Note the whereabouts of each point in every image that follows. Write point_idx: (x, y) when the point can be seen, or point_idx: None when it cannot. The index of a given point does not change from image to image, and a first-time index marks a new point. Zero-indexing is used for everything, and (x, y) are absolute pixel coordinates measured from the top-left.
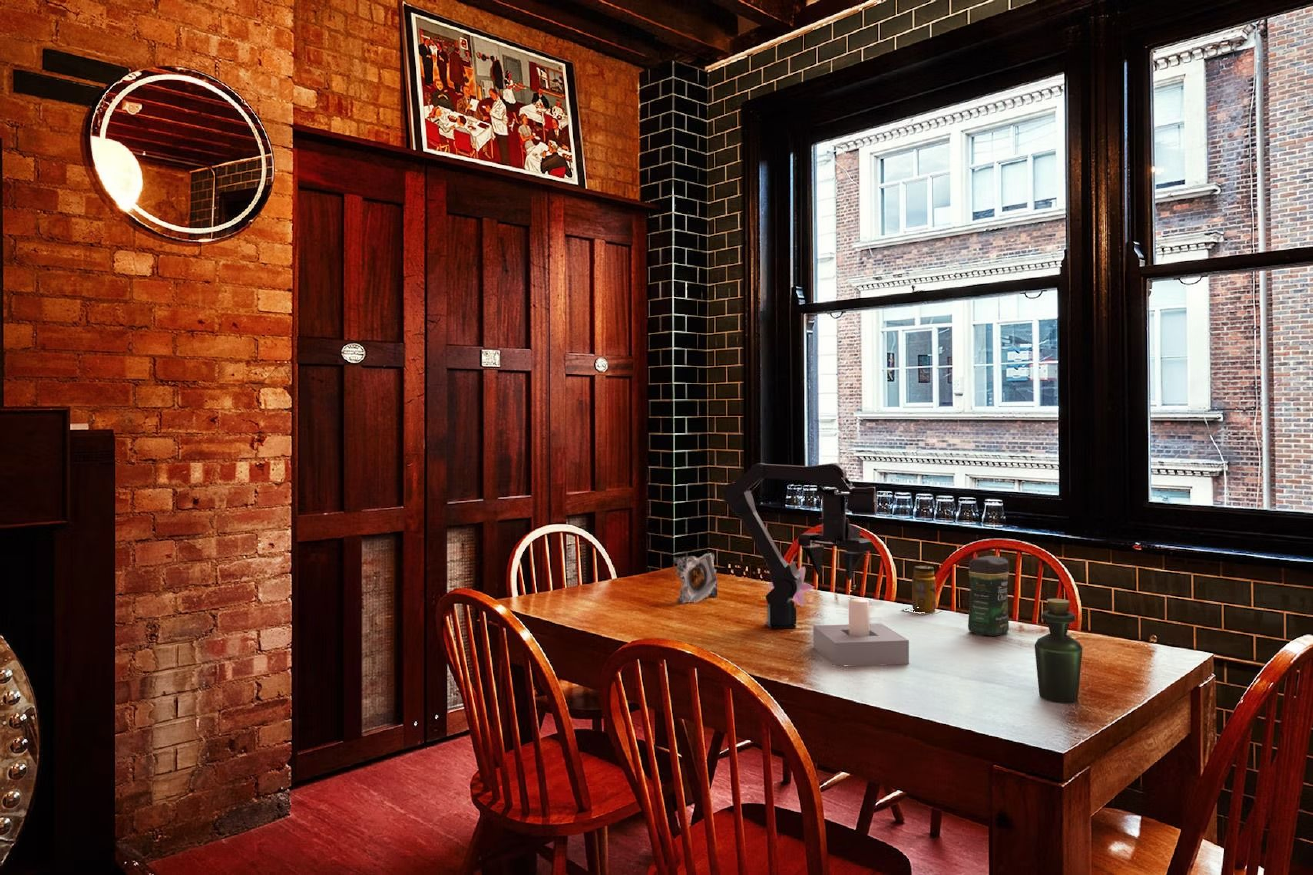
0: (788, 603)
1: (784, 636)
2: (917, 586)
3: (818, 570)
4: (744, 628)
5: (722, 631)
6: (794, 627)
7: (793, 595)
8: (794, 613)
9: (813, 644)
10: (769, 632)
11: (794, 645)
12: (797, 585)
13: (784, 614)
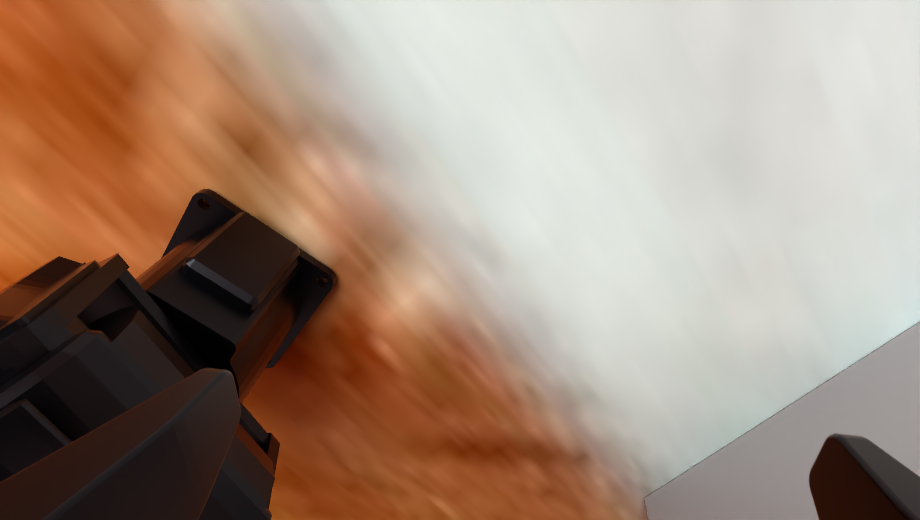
0: (240, 388)
1: (419, 425)
2: None
3: (205, 478)
4: None
5: None
6: (333, 284)
7: (268, 458)
8: (270, 292)
9: (647, 511)
10: (317, 407)
11: (555, 507)
12: (244, 514)
13: (267, 362)
